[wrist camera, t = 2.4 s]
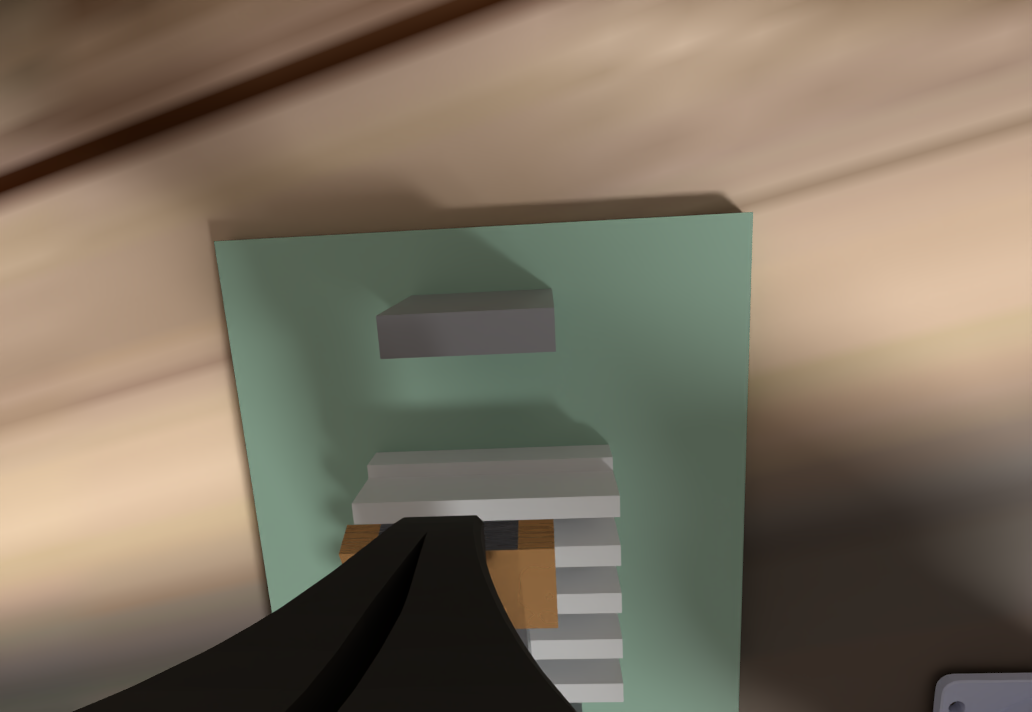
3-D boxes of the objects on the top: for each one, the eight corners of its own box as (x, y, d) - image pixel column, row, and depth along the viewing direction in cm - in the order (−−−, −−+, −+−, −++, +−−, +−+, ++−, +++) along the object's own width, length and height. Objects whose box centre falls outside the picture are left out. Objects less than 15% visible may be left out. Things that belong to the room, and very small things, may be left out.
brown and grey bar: (565, 777, 19) (568, 850, 17) (448, 777, 19) (441, 850, 17) (552, 492, 11) (555, 581, 10) (355, 498, 11) (329, 586, 10)
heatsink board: (728, 793, 22) (779, 952, 17) (312, 795, 22) (250, 946, 18) (743, 212, 17) (817, 209, 13) (228, 240, 18) (118, 247, 14)
